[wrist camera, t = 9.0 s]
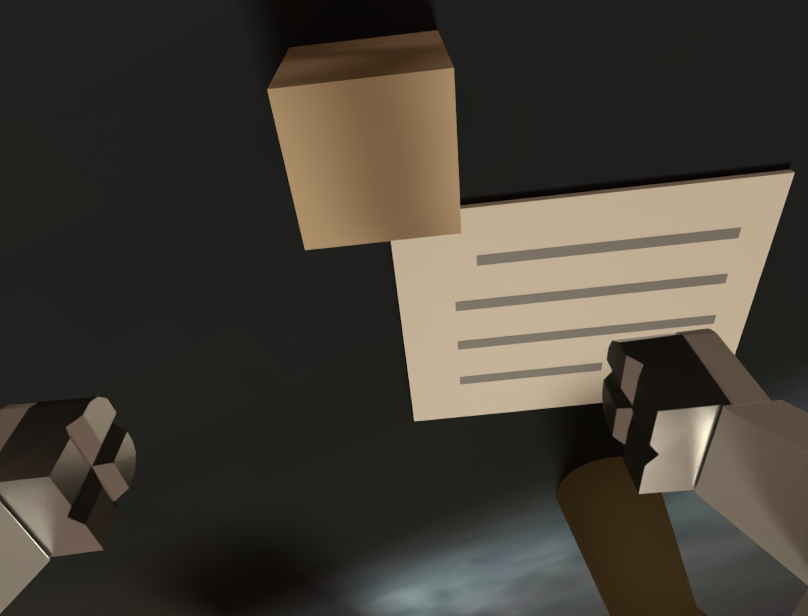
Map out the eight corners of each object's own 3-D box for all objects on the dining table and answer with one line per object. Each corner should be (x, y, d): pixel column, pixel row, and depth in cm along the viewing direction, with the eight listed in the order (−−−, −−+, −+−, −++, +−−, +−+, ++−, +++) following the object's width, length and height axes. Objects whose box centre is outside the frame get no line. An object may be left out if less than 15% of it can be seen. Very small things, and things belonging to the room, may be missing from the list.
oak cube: (317, 184, 22) (305, 250, 18) (289, 46, 19) (267, 89, 15) (445, 170, 22) (461, 233, 18) (437, 29, 19) (453, 67, 15)
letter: (414, 416, 30) (414, 421, 30) (387, 213, 23) (387, 217, 23) (719, 386, 30) (722, 390, 29) (790, 169, 22) (794, 172, 22)
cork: (678, 470, 34) (784, 677, 25) (617, 525, 37) (692, 726, 28) (593, 446, 32) (675, 658, 23) (537, 506, 35) (591, 713, 27)
